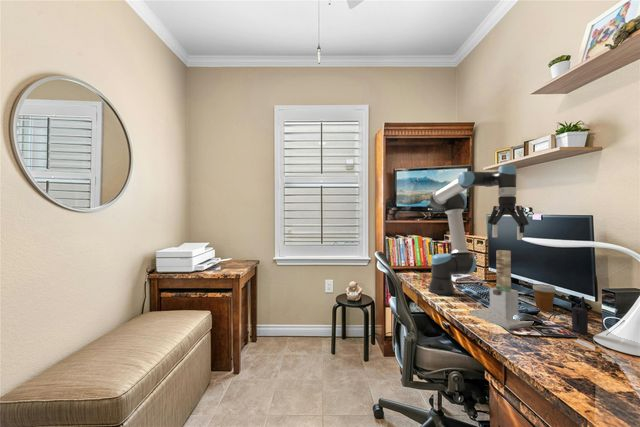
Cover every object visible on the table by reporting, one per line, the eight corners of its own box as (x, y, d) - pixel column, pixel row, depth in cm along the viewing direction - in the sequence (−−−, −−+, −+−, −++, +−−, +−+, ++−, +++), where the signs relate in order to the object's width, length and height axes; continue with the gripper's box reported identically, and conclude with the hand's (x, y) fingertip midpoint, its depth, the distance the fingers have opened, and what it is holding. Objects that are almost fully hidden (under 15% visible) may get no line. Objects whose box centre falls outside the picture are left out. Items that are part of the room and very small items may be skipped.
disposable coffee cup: (528, 308, 149) (528, 284, 149) (539, 305, 153) (539, 282, 153) (549, 313, 141) (549, 289, 141) (560, 311, 145) (560, 287, 145)
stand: (469, 314, 141) (469, 286, 141) (499, 309, 147) (499, 282, 147) (508, 329, 122) (508, 297, 122) (541, 323, 129) (540, 292, 129)
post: (495, 301, 136) (495, 250, 136) (502, 300, 137) (502, 250, 137) (504, 304, 132) (504, 251, 132) (511, 303, 133) (511, 251, 133)
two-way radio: (590, 334, 116) (590, 297, 116) (580, 335, 116) (580, 297, 116) (576, 329, 122) (576, 293, 122) (567, 329, 121) (567, 294, 121)
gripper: (480, 197, 156) (480, 236, 156) (526, 194, 132) (525, 241, 132) (491, 197, 158) (491, 236, 159) (538, 195, 135) (537, 240, 135)
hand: (506, 238), depth 145 cm, fingers open, 13 cm apart
